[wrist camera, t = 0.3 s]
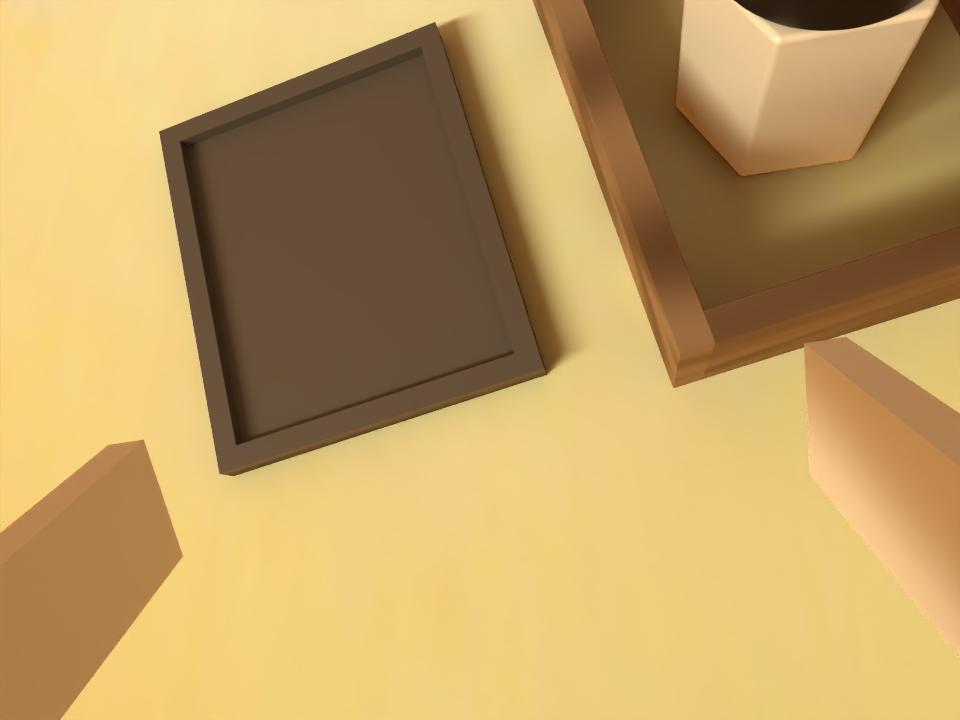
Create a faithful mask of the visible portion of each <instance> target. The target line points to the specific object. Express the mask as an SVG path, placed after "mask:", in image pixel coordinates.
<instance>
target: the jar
mask: <svg viewBox="0 0 960 720" xmlns="http://www.w3.org/2000/svg"><path fill="white" fill-rule="evenodd" d="M939 1H940V0H684V7H683V20H682V32H681V45H680V58H679V71H678V84H677V97H676V106H677V108H678V109H679V110H680V111H681V112H682V113H683V114H684V115H685V117H686V118H687V119H688V120H689V121H690V122H691V123H692V124H693V125H694V126H695V127H696V128H697V130H698V131H699V132H700V133H701V134H702V135H703V136H704V137H705V138H706V139H707V140H708V141H709V143H710V144H711V145H712V146H713V147H714V148H715V149H716V150H717V151H718V152H719V153H720V154H721V155H722V157H723V158H724V159H725V160H726V161H727V162H728V163H729V164H730V165H731V166H732V167H733V168H734V170H735V171H736V172H737V173H738V174H740V175H741V176H747V175H754V174H760V173H767V172H773V171H780V170H786V169H793V168H799V167H806V166H812V165H819V164H826V163H832V162H839V161H845V160H850V159H852V158H853V157H854V156H855V155H856V153H857V151H858V149H859V147H860V146H861V144H862V142H863V140H864V138H865V137H866V135H867V133H868V131H869V129H870V128H871V126H872V124H873V122H874V120H875V119H876V117H877V115H878V113H879V111H880V110H881V108H882V106H883V104H884V102H885V101H886V99H887V97H888V95H889V93H890V92H891V90H892V88H893V86H894V84H895V83H896V81H897V79H898V77H899V75H900V74H901V72H902V70H903V68H904V66H905V65H906V63H907V61H908V59H909V57H910V56H911V54H912V52H913V50H914V48H915V47H916V45H917V43H918V41H919V40H920V38H921V36H922V34H923V32H924V31H925V29H926V27H927V25H928V23H929V22H930V20H931V18H932V16H933V14H934V12H935V10H936V8H937V5H938V3H939Z"/></svg>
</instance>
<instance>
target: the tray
mask: <svg viewBox="0 0 960 720" xmlns="http://www.w3.org/2000/svg"><path fill="white" fill-rule="evenodd" d="M159 133H160V139H161V144H162V150H163V156H164V161H165V167H166V173H167V178H168V184H169V190H170V195H171V201H172V207H173V212H174V218H175V224H176V229H177V235H178V241H179V246H180V252H181V258H182V263H183V269H184V275H185V280H186V286H187V292H188V298H189V303H190V309H191V315H192V320H193V326H194V332H195V337H196V343H197V349H198V354H199V360H200V366H201V371H202V377H203V383H204V388H205V394H206V400H207V405H208V411H209V417H210V422H211V428H212V434H213V439H214V445H215V451H216V456H217V462H218V468H219V473H220V474H223V475H230V476H235V475H239V474H242V473H245V472H248V471H251V470H254V469H257V468H260V467H263V466H266V465H269V464H272V463H276V462H279V461H282V460H285V459H288V458H291V457H294V456H297V455H300V454H303V453H306V452H310V451H313V450H316V449H319V448H322V447H325V446H328V445H331V444H334V443H337V442H340V441H343V440H347V439H350V438H353V437H356V436H359V435H362V434H365V433H368V432H371V431H374V430H377V429H381V428H384V427H387V426H390V425H393V424H396V423H399V422H402V421H405V420H408V419H411V418H414V417H418V416H421V415H424V414H427V413H430V412H433V411H436V410H439V409H442V408H445V407H448V406H452V405H455V404H458V403H461V402H464V401H467V400H470V399H473V398H476V397H479V396H482V395H485V394H489V393H492V392H495V391H498V390H501V389H504V388H507V387H510V386H513V385H516V384H519V383H523V382H526V381H529V380H532V379H535V378H538V377H541V376H544V375H547V372H546V369H545V366H544V363H543V359H542V356H541V353H540V350H539V347H538V344H537V340H536V337H535V334H534V331H533V328H532V324H531V321H530V318H529V315H528V312H527V309H526V305H525V302H524V299H523V296H522V293H521V289H520V286H519V283H518V280H517V277H516V274H515V270H514V267H513V264H512V261H511V258H510V254H509V251H508V248H507V245H506V242H505V239H504V235H503V232H502V229H501V226H500V223H499V219H498V216H497V213H496V210H495V207H494V203H493V200H492V197H491V194H490V191H489V188H488V184H487V181H486V178H485V175H484V172H483V168H482V165H481V162H480V159H479V156H478V153H477V149H476V146H475V143H474V140H473V137H472V133H471V130H470V127H469V124H468V121H467V118H466V114H465V111H464V108H463V105H462V102H461V98H460V95H459V92H458V89H457V86H456V83H455V79H454V76H453V73H452V70H451V67H450V63H449V60H448V57H447V54H446V51H445V48H444V44H443V41H442V38H441V35H440V33H439V31H438V28H437V26H436V23H435V22H434V23H432V24H429V25H427V26H424V27H422V28H419V29H417V30H414V31H412V32H409V33H406V34H404V35H401V36H399V37H396V38H394V39H391V40H389V41H386V42H384V43H381V44H379V45H376V46H374V47H371V48H369V49H366V50H364V51H361V52H359V53H356V54H354V55H351V56H349V57H346V58H343V59H341V60H338V61H336V62H333V63H331V64H328V65H326V66H323V67H321V68H318V69H316V70H313V71H311V72H308V73H306V74H303V75H301V76H298V77H296V78H293V79H291V80H288V81H285V82H283V83H280V84H278V85H275V86H273V87H270V88H268V89H265V90H263V91H260V92H258V93H255V94H253V95H250V96H248V97H245V98H243V99H240V100H238V101H235V102H233V103H230V104H228V105H225V106H222V107H220V108H217V109H215V110H212V111H210V112H207V113H205V114H202V115H200V116H197V117H195V118H192V119H190V120H187V121H185V122H182V123H180V124H177V125H175V126H172V127H170V128H167V129H165V130H162V131H159Z"/></svg>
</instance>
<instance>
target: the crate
mask: <svg viewBox="0 0 960 720" xmlns="http://www.w3.org/2000/svg"><path fill="white" fill-rule="evenodd" d="M940 1H941V2H942V4H943V6H944V8H945V10H946V11H947V13H948V15H949V17H950V19H951V20H952V22H953V24H954V26H955V28H956V29H957V31H958V33H959V35H960V0H940ZM533 2H534V5H535V8H536V10H537V13H538V16H539V19H540V21H541V24H542V27H543V30H544V32H545V35H546V38H547V41H548V44H549V46H550V49H551V52H552V55H553V57H554V60H555V63H556V66H557V68H558V71H559V74H560V77H561V79H562V82H563V85H564V88H565V90H566V93H567V96H568V99H569V101H570V104H571V107H572V110H573V112H574V115H575V118H576V121H577V123H578V126H579V129H580V132H581V135H582V137H583V140H584V143H585V146H586V148H587V151H588V154H589V157H590V159H591V162H592V165H593V168H594V170H595V173H596V176H597V179H598V181H599V184H600V187H601V190H602V192H603V195H604V198H605V201H606V203H607V206H608V209H609V212H610V214H611V217H612V220H613V223H614V226H615V228H616V231H617V234H618V237H619V239H620V242H621V245H622V248H623V250H624V253H625V256H626V259H627V261H628V264H629V267H630V270H631V272H632V275H633V278H634V281H635V283H636V286H637V289H638V292H639V294H640V297H641V300H642V303H643V306H644V308H645V311H646V314H647V317H648V319H649V322H650V325H651V328H652V330H653V333H654V336H655V339H656V341H657V344H658V347H659V350H660V352H661V355H662V358H663V361H664V363H665V366H666V369H667V372H668V374H669V377H670V380H671V383H672V385H673V388H675V387H678V386H682V385H685V384H688V383H691V382H694V381H698V380H701V379H704V378H707V377H710V376H713V375H717V374H720V373H723V372H726V371H729V370H733V369H736V368H739V367H742V366H745V365H748V364H752V363H755V362H758V361H761V360H764V359H768V358H771V357H774V356H777V355H780V354H783V353H787V352H790V351H793V350H796V349H799V348H803V347H804V343H810V342H817V341H824V340H828V339H831V338H834V337H838V336H841V335H844V334H847V333H850V332H853V331H857V330H860V329H863V328H866V327H869V326H873V325H876V324H879V323H882V322H885V321H888V320H892V319H895V318H898V317H901V316H904V315H908V314H911V313H914V312H917V311H920V310H923V309H927V308H930V307H933V306H936V305H939V304H943V303H946V302H949V301H952V300H955V299H958V298H960V227H957V228H954V229H951V230H948V231H945V232H942V233H939V234H936V235H933V236H930V237H927V238H924V239H920V240H917V241H914V242H911V243H908V244H905V245H902V246H899V247H896V248H893V249H890V250H887V251H884V252H881V253H878V254H875V255H871V256H868V257H865V258H862V259H859V260H856V261H853V262H850V263H847V264H844V265H841V266H838V267H835V268H832V269H829V270H826V271H822V272H819V273H816V274H813V275H810V276H807V277H804V278H801V279H798V280H795V281H792V282H789V283H786V284H783V285H780V286H776V287H773V288H770V289H767V290H764V291H761V292H758V293H755V294H752V295H749V296H746V297H743V298H740V299H737V300H734V301H731V302H727V303H724V304H721V305H718V306H715V307H712V308H709V309H706V310H702V307H701V304H700V302H699V299H698V297H697V294H696V291H695V289H694V286H693V284H692V281H691V278H690V276H689V273H688V271H687V268H686V265H685V263H684V260H683V258H682V255H681V253H680V250H679V247H678V245H677V242H676V240H675V237H674V234H673V232H672V229H671V227H670V224H669V221H668V219H667V216H666V214H665V211H664V209H663V206H662V203H661V201H660V198H659V196H658V193H657V190H656V188H655V185H654V183H653V180H652V177H651V175H650V172H649V170H648V167H647V165H646V162H645V159H644V157H643V154H642V152H641V149H640V146H639V144H638V141H637V139H636V136H635V133H634V131H633V128H632V126H631V123H630V120H629V118H628V115H627V113H626V110H625V108H624V105H623V102H622V100H621V97H620V95H619V92H618V89H617V87H616V84H615V82H614V79H613V76H612V74H611V71H610V69H609V66H608V64H607V61H606V58H605V56H604V53H603V51H602V48H601V45H600V43H599V40H598V38H597V35H596V32H595V30H594V27H593V25H592V22H591V20H590V17H589V14H588V12H587V9H586V7H585V4H584V1H583V0H533Z"/></svg>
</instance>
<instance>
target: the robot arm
mask: <svg viewBox="0 0 960 720" xmlns="http://www.w3.org/2000/svg"><path fill="white" fill-rule="evenodd" d="M804 352H805V376H806V400H807V424H808V448H809V472H810V476H811V477H812V478H813V480H814V481H815V482H816V483H817V484H818V486H819V487H820V488H821V489H822V491H823V492H824V493H825V494H826V495H827V497H828V498H829V499H830V500H831V502H832V503H833V504H834V505H835V506H836V508H837V509H838V510H839V511H840V513H841V514H842V515H843V516H844V517H845V519H846V520H847V521H848V522H849V524H850V525H851V526H852V527H853V529H854V530H855V531H856V532H857V533H858V535H859V536H860V537H861V538H862V540H863V541H864V542H865V543H866V544H867V546H868V547H869V548H870V549H871V551H872V552H873V553H874V554H875V555H876V557H877V558H878V559H879V560H880V562H881V563H882V564H883V565H884V566H885V568H886V569H887V570H888V571H889V573H890V574H891V575H892V576H893V578H894V579H895V580H896V581H897V582H898V584H899V585H900V586H901V587H902V589H903V590H904V591H905V592H906V593H907V595H908V596H909V597H910V598H911V600H912V601H913V602H914V603H915V604H916V606H917V607H918V608H919V609H920V611H921V612H922V613H923V614H924V616H925V617H926V618H927V619H928V620H929V622H930V623H931V624H932V625H933V627H934V628H935V629H936V630H937V631H938V633H939V634H940V635H941V636H942V638H943V639H944V640H945V641H946V642H947V644H948V645H949V646H950V647H951V649H952V650H953V651H954V652H955V653H956V655H957V656H958V657H959V658H960V413H958V412H957V411H955V410H954V409H952V408H951V407H949V406H948V405H946V404H945V403H943V402H942V401H940V400H939V399H937V398H936V397H934V396H933V395H931V394H930V393H928V392H927V391H925V390H924V389H922V388H921V387H919V386H918V385H916V384H915V383H914V382H912V381H911V380H909V379H908V378H906V377H905V376H903V375H902V374H900V373H899V372H897V371H896V370H894V369H893V368H891V367H890V366H888V365H887V364H885V363H884V362H882V361H881V360H879V359H878V358H876V357H875V356H873V355H872V354H871V353H869V352H868V351H866V350H865V349H863V348H862V347H860V346H859V345H857V344H856V343H854V342H853V341H851V340H850V339H848V338H847V337H844V338H837V339H830V340H824V341H817V342H810V343H804ZM182 557H183V555H182V552H181V549H180V546H179V543H178V540H177V537H176V534H175V531H174V528H173V525H172V522H171V519H170V516H169V514H168V511H167V508H166V505H165V502H164V499H163V496H162V493H161V490H160V487H159V484H158V481H157V478H156V475H155V472H154V469H153V466H152V463H151V460H150V457H149V454H148V451H147V448H146V445H145V442H144V440H140V441H133V442H126V443H119V444H112V445H108V446H107V447H105V448H104V449H103V450H102V451H101V452H99V453H98V454H97V455H96V456H94V457H93V458H92V459H91V460H90V461H88V462H87V463H86V464H85V465H83V466H82V467H81V468H80V469H78V470H77V471H76V472H75V473H74V474H72V475H71V476H70V477H69V478H67V479H66V480H65V481H64V482H63V483H61V484H60V485H59V486H58V487H56V488H55V489H54V490H53V491H51V492H50V493H49V494H48V495H47V496H45V497H44V498H43V499H42V500H40V501H39V502H38V503H37V504H36V505H34V506H33V507H32V508H31V509H29V510H28V511H27V512H26V513H25V514H23V515H22V516H21V517H20V518H18V519H17V520H16V521H15V522H13V523H12V524H11V525H10V526H9V527H7V528H6V529H5V530H4V531H2V532H1V533H0V720H60V719H61V718H62V717H63V715H64V714H65V713H66V711H67V710H68V709H69V707H70V706H71V705H72V703H73V702H74V701H75V699H76V698H77V697H78V695H79V694H80V693H81V691H82V690H83V689H84V687H85V686H86V685H87V683H88V682H89V681H90V679H91V678H92V677H93V675H94V674H95V673H96V671H97V670H98V669H99V667H100V666H101V665H102V663H103V662H104V661H105V659H106V658H107V657H108V655H109V654H110V653H111V651H112V650H113V649H114V647H115V646H116V645H117V643H118V642H119V641H120V639H121V638H122V637H123V635H124V634H125V633H126V631H127V630H128V629H129V627H130V626H131V625H132V623H133V622H134V621H135V619H136V618H137V617H138V615H139V614H140V613H141V611H142V610H143V609H144V607H145V606H146V605H147V603H148V602H149V601H150V599H151V598H152V597H153V595H154V594H155V593H156V591H157V590H158V589H159V587H160V586H161V585H162V583H163V582H164V581H165V579H166V578H167V577H168V575H169V574H170V573H171V571H172V570H173V569H174V567H175V566H176V565H177V563H178V562H179V561H180V559H181V558H182Z"/></svg>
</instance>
